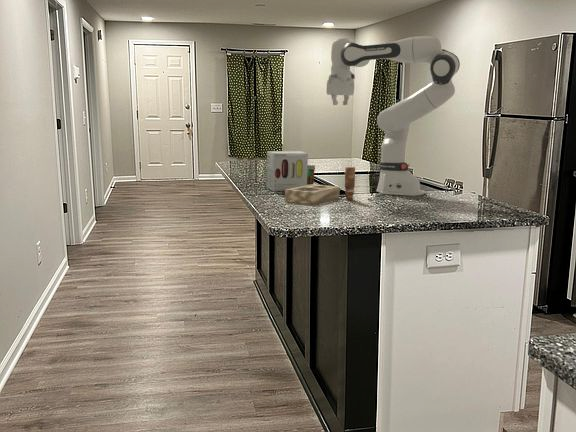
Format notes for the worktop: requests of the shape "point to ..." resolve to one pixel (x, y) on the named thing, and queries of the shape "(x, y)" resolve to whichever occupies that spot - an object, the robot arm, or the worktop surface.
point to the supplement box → (286, 169)
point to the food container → (310, 174)
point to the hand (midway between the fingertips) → (340, 105)
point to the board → (312, 194)
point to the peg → (349, 182)
